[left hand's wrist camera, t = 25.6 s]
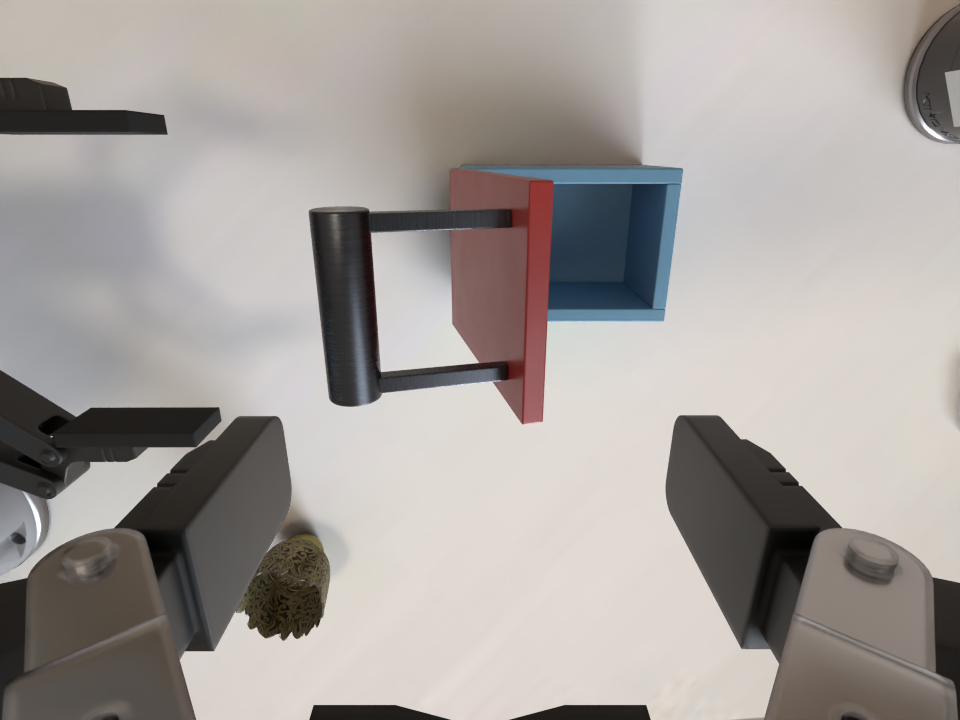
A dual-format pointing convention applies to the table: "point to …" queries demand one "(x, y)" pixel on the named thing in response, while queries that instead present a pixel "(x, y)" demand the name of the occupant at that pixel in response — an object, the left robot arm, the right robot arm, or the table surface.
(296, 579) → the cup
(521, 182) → the lid
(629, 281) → the chest
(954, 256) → the table surface
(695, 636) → the table surface
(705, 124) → the table surface
